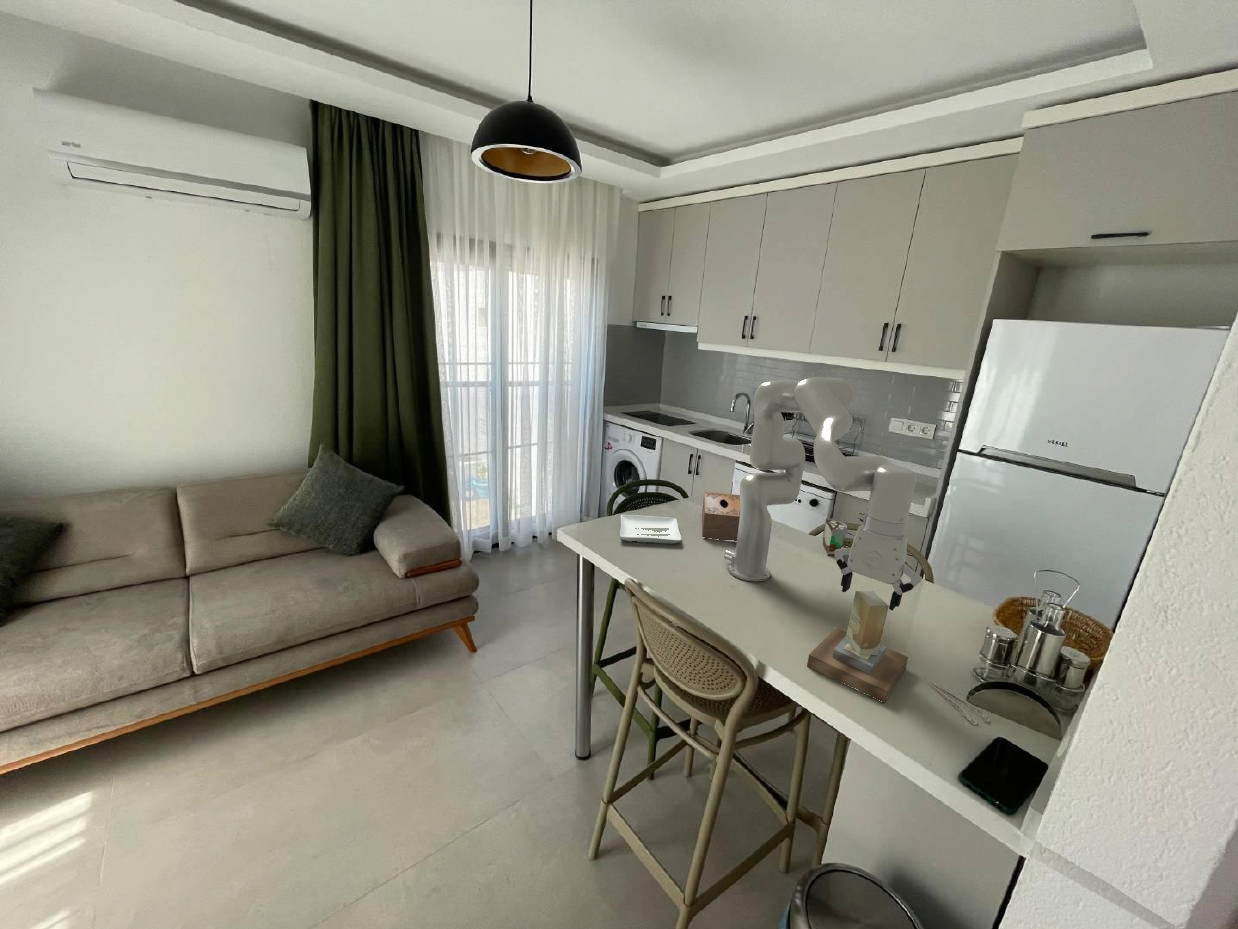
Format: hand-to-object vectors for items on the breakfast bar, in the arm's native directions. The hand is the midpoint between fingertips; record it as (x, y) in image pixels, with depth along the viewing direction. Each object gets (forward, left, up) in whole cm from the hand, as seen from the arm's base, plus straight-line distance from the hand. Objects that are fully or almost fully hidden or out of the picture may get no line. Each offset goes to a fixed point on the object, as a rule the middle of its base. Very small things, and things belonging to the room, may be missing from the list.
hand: (868, 598), depth 109 cm
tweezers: (+16, +4, -18) cm, 25 cm away
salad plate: (-80, +24, -18) cm, 85 cm away
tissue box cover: (-66, +50, -17) cm, 84 cm away
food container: (-28, +62, -17) cm, 70 cm away
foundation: (0, 0, -17) cm, 17 cm away
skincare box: (+1, 0, -12) cm, 12 cm away
